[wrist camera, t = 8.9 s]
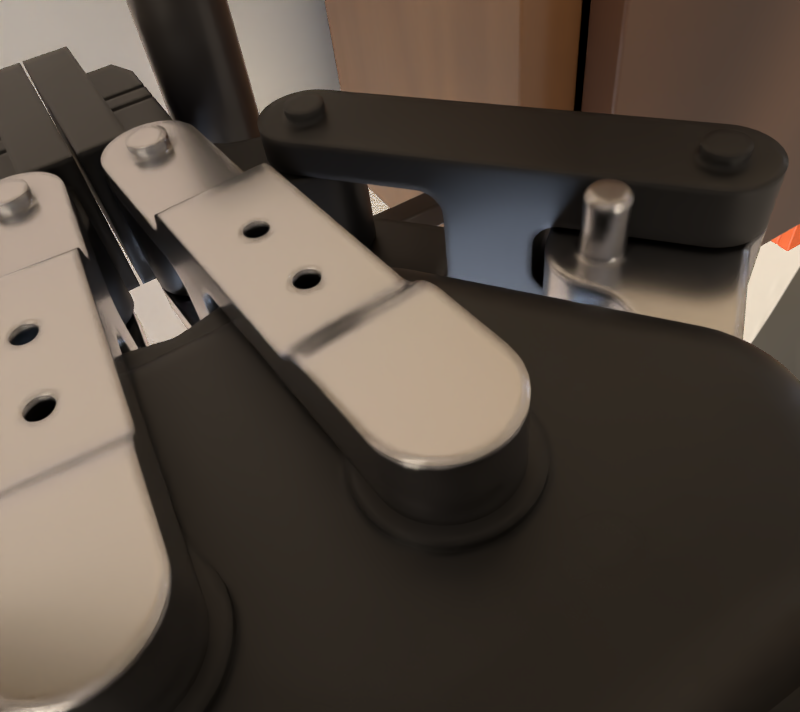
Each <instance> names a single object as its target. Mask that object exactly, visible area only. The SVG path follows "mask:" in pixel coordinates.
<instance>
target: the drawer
mask: <svg viewBox="0 0 800 712" xmlns="http://www.w3.org/2000/svg"><path fill="white" fill-rule="evenodd" d="M126 2H127V5H128V7H129V10H130V12H131V15H132V18H133V20H134V23H135V26H136V28H137V31H138V33H139V36H140V39H141V41H142V44H143V47H144V49H145V52H146V54H147V57H148V60H149V62H150V65H151V67H152V70H153V73H154V75H155V78H156V81H157V83H158V86H159V88H160V91H161V94H162V96H163V99H164V102H165V104H166V107H167V109H168V112H169V115H170V117H171V119H172V120H173V121H181V122H185V123H188V124H190V125H192V126H193V127H195V128H196V129H197V130H198V131H199V132H200V133H202V134H203V135H204V136H205V137H206V138H207V139H208V140H209V141H210V142H212V143H232V142H238V141H243V140H247V139H252V138H257V137H261V136H260V133H259V129H258V125H257V121H258V117H259V112H258V109H257V105H256V102H255V98H254V95H253V91H252V87H251V84H250V80H249V77H248V73H247V70H246V66H245V62H244V59H243V55H242V52H241V48H240V45H239V41H238V37H237V34H236V30H235V27H234V23H233V19H232V16H231V12H230V9H229V5H228V2H227V0H126ZM590 4H591V0H325V6H326V11H327V17H328V22H329V28H330V33H331V39H332V44H333V50H334V55H335V61H336V66H337V72H338V78H339V83H340V89H341V91H347V92H359V93H370V94H382V95H394V96H406V97H417V98H429V99H441V100H452V101H464V102H476V103H488V104H499V105H511V106H523V107H535V108H546V109H558V110H570V111H581V106H582V95H583V83H584V72H585V61H586V49H587V38H588V26H589V15H590ZM368 188H369V189H371V190H372V191H373V192H374V193H375V194H376V195H377V196H378V197H379V198H380V199H381V200H382V201H383V202H384V203H385V204H386V205H387V206H388V207H389V209H387V210H385V211H383V212H381V213H378V214H376V215H374V216H373V217H377V218H384V219H391V220H399V221H406V222H413V223H420V224H427V225H434V226H441V227H444V220H443V213H442V210H441V208H440V206H439V204H438V203H437V202H436V201H435V200H434V199H433V198H432V197H431V196H429V195H427V194H426V193H423V192H421V191H416V190H409V189H402V188H394V187H386V186H378V185H370V184H368Z"/></svg>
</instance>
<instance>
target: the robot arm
mask: <svg viewBox="0 0 800 712" xmlns="http://www.w3.org/2000/svg"><path fill="white" fill-rule="evenodd" d="M23 63H24V66H25V68H26V70H27V71H28V73H29V75H30V77H31V79H32V81H33V83H34V85H35V87H36V89H37V91H38V93H39V95H40V96H41V98H42V100H43V102H44V104H45V106H46V108H47V110H48V112H49V114H50V115H49V114H48V112H47V110H46V108H45V107H44V105H43V103H42V101H41V100H40V98H39V96H38V94H37V93H36V91H35V89H34V87H33V86H32V84H31V82H30V80H29V79H28V77H27V75H26V73H25V72H24V70H23V68H22V66H21V65H20V63H17V64H14V65H12V66H9V67H6V68H3V69H0V712H800V381H799V380H798V379H797V378H796V377H795V376H794V375H793V374H792V373H791V372H790V371H789V370H788V369H787V368H786V367H785V366H783V365H782V364H781V363H780V362H778V361H777V360H776V359H774V358H773V357H772V356H771V355H769V354H767V353H766V352H764V351H762V350H761V349H759V348H758V347H756V346H754V345H752V344H750V343H748V342H746V341H744V340H743V332H744V321H745V309H746V297H747V285H748V282H749V279H750V276H751V273H752V270H753V267H754V264H755V261H756V258H757V256H758V253H759V250H760V247H761V244H762V241H763V238H764V235H765V232H766V229H767V226H768V223H769V220H770V218H771V215H772V212H773V209H774V206H775V203H776V200H777V197H778V194H779V191H780V188H781V185H782V182H783V180H784V177H785V174H786V171H787V168H788V164H789V159H788V155H787V153H786V151H785V149H784V148H783V147H782V145H781V144H780V143H779V142H777V141H776V140H775V139H773V138H772V137H770V136H768V135H767V134H765V133H762V132H760V131H758V130H755V129H751V128H748V127H744V126H739V125H732V124H722V123H711V122H699V121H687V120H676V119H664V118H652V117H640V116H629V115H617V114H605V113H593V112H582V111H570V110H558V109H546V108H535V107H523V106H511V105H499V104H488V103H476V102H464V101H452V100H441V99H429V98H417V97H406V96H394V95H382V94H370V93H359V92H347V91H335V90H320V89H317V90H306V91H300V92H296V93H292V94H289V95H286V96H284V97H282V98H279V99H278V100H276V101H274V102H272V103H271V104H270V105H268V106H267V107H266V108H265V109H264V110H263V111H262V112H261V114H260V115H259V117H258V121H257V125H258V129H259V133H260V136H261V137H257V138H252V139H247V140H243V141H238V142H232V143H212V142H210V141H209V140H208V139H207V138H206V137H205V136H204V135H203V134H202V133H200V132H199V131H198V130H197V129H196V128H195V127H193V126H192V125H190V124H188V123H185V122H181V121H173V120H172V119H171V117H170V116H169V115H168V114H167V112H166V111H165V110H164V109H163V108H162V106H161V105H160V104H159V103H158V102H157V100H156V99H155V98H154V97H152V94H151V93H150V92H149V91H148V89H147V88H146V87H144V85H143V83H142V82H141V81H140V80H139V79H138V77H137V76H136V75H135V74H134V73H133V71H130V70H127V69H124V68H121V67H118V66H114V65H108V66H106V67H103V68H100V69H97V70H95V71H92V72H89V73H85V72H84V71H83V69H82V68H81V66H80V65H79V63H78V62H77V61H76V59H75V58H74V56H73V55H72V54H71V52H70V51H69V49H68V48H67V47H63V48H60V49H58V50H55V51H52V52H49V53H46V54H43V55H40V56H37V57H34V58H31V59H29V60H26V61H23ZM50 116H51V117H50ZM51 118H52V119H53V121H54V122H53V121H52V119H51ZM54 123H55V124H54ZM55 125H56V126H55ZM56 127H57V128H56ZM368 184H370V185H378V186H386V187H394V188H402V189H409V190H416V191H421V192H423V193H426V194H427V195H429V196H431V197H432V198H433V199H434V200H435V201H436V202H437V203H438V204H439V206H440V208H441V210H442V213H443V220H444V227H441V226H434V225H427V224H420V223H413V222H406V221H399V220H391V219H384V218H377V217H373V213H372V208H371V202H370V196H369V190H368ZM95 199H96V200H95ZM96 201H97V202H96ZM97 203H98V204H97ZM98 205H99V206H98ZM99 207H100V208H101V210H102V211H101V210H100V208H99ZM102 212H103V213H102ZM103 214H104V215H105V217H106V219H107V221H108V222H109V224H110V226H111V228H112V229H113V231H114V233H115V235H116V236H117V238H118V240H119V242H120V243H121V245H122V247H123V249H124V251H125V252H126V254H127V256H128V258H129V259H130V261H131V263H132V265H133V266H134V268H135V270H136V272H137V273H138V275H139V277H140V279H141V280H142V282H143V284H144V283H147V282H149V281H151V280H153V279H155V278H157V280H158V281H159V283H160V285H161V287H162V289H163V291H164V293H165V295H166V297H167V299H168V301H169V303H170V305H171V307H172V309H173V311H174V312H175V314H176V315H177V316H178V318H179V319H180V320H181V321H182V323H183V324H184V325H185V327H186V328H187V329H188V330H186V331H185V332H183V333H182V334H180V335H179V336H177V337H175V338H173V339H170V340H167V341H164V342H160V343H157V344H153V345H149V342H148V340H147V337H146V334H145V332H144V329H143V327H142V325H141V323H140V321H139V319H138V318H137V316H136V314H135V312H134V310H133V309H134V302H133V299H132V297H131V295H130V293H129V290H132V289H134V288H136V287H138V286H140V284H139V283H138V281H137V279H136V277H135V275H134V273H133V271H132V269H131V267H130V265H129V263H128V261H127V259H126V258H125V256H124V254H123V252H122V250H121V248H120V246H119V244H118V242H117V240H116V238H115V236H114V235H113V233H112V231H111V229H110V227H109V225H108V223H107V221H106V219H105V217H104V215H103Z"/></svg>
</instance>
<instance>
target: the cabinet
mask: <svg viewBox="0 0 800 712" xmlns="http://www.w3.org/2000/svg"><path fill="white" fill-rule="evenodd" d="M581 111H582V112H593V113H605V114H617V115H629V116H640V117H652V118H664V119H676V120H687V121H699V122H711V123H722V124H732V125H739V126H744V127H748V128H751V129H755V130H758V131H760V132H762V133H765V134H767V135H768V136H770V137H772V138H773V139H775V140H776V141H777V142H779V143H780V144H781V145H782V147H783V148H784V149H785V151H786V153H787V155H788V159H789V164H788V168H787V171H786V174H785V177H784V180H783V182H782V185H781V188H780V191H779V194H778V197H777V200H776V203H775V206H774V209H773V212H772V215H771V218H770V220H769V223H768V226H767V229H766V232H765V235H764V238H763V241H762V244H761V246H762V245H764V244H765V243H767V242H769V241H771V240H772V239H774V238H776V237H778V236H779V235H781V234H783V233H785V232H787V231H788V230H790V229H792V228H794V227H795V226H797V225H799V224H800V0H591V4H590V15H589V26H588V38H587V49H586V61H585V72H584V83H583V95H582V106H581Z"/></svg>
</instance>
